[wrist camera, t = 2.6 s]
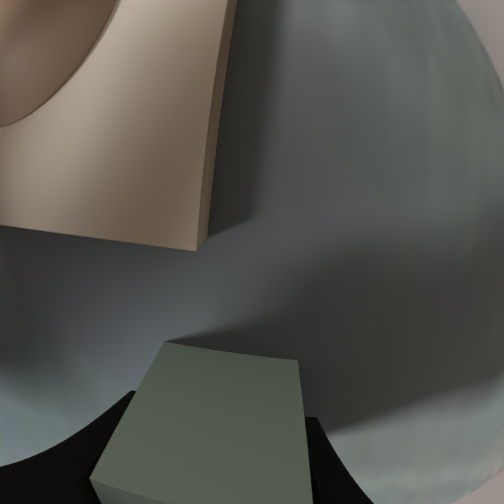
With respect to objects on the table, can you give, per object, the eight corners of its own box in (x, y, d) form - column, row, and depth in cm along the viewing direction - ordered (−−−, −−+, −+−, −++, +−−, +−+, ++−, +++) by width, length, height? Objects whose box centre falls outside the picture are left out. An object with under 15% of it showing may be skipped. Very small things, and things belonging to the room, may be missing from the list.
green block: (168, 428, 11) (126, 546, 6) (164, 340, 10) (89, 478, 4) (276, 444, 11) (274, 571, 6) (297, 359, 10) (313, 517, 4)
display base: (-59, 207, 10) (-83, 214, 8) (-4, -42, 6) (-21, -51, 4) (207, 238, 9) (194, 253, 8) (260, -110, 6) (258, -135, 4)
